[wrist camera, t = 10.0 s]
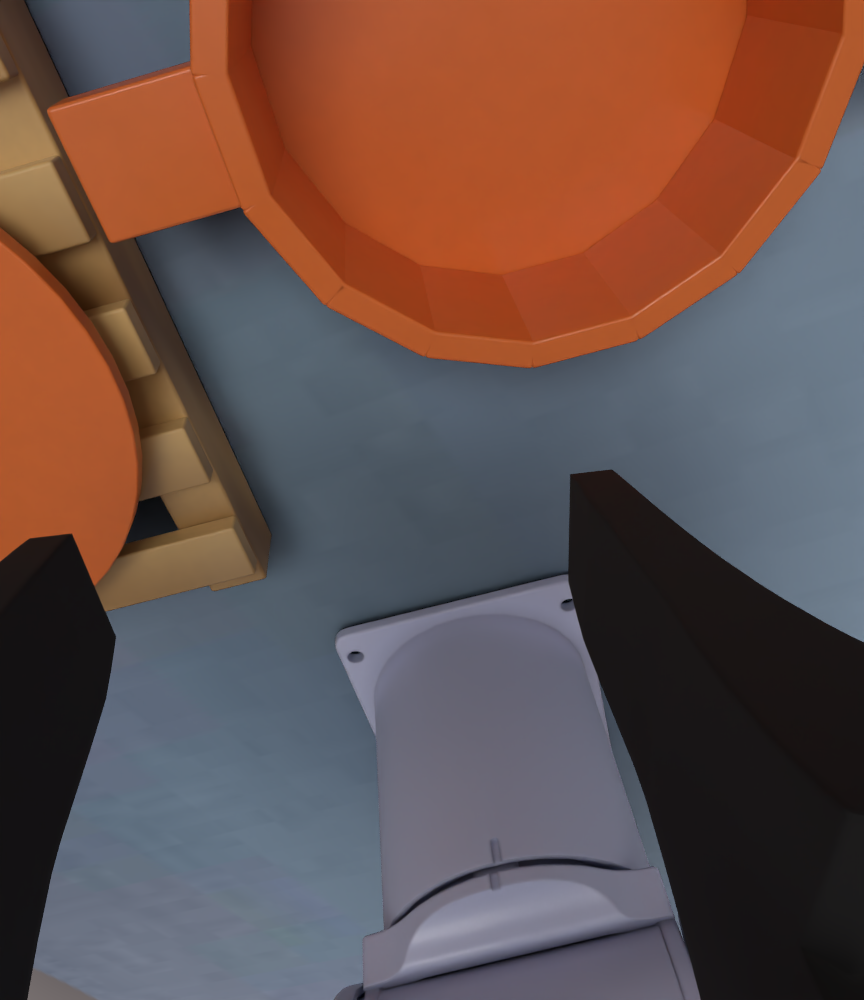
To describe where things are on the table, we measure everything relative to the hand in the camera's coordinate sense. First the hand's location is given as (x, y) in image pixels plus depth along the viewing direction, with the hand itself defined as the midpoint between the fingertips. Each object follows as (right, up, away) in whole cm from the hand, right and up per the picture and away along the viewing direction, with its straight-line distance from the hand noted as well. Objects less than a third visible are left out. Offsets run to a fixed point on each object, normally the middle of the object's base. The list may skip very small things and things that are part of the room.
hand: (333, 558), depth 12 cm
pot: (+3, +11, +5) cm, 12 cm away
